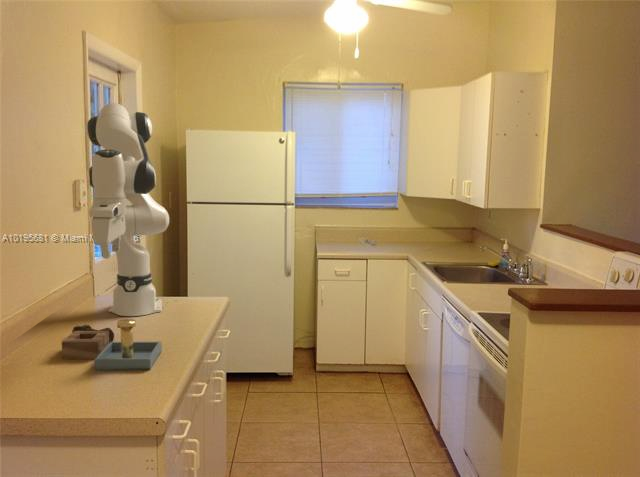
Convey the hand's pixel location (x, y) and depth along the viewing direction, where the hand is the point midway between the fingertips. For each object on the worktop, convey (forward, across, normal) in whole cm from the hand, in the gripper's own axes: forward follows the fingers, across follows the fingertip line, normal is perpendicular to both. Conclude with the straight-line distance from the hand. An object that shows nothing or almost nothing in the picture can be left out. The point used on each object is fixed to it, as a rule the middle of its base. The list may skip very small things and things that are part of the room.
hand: (111, 254), depth 167 cm
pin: (+27, +13, +7) cm, 31 cm away
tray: (+28, +12, +7) cm, 31 cm away
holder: (+28, +5, -6) cm, 29 cm away
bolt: (+29, -6, -9) cm, 31 cm away
